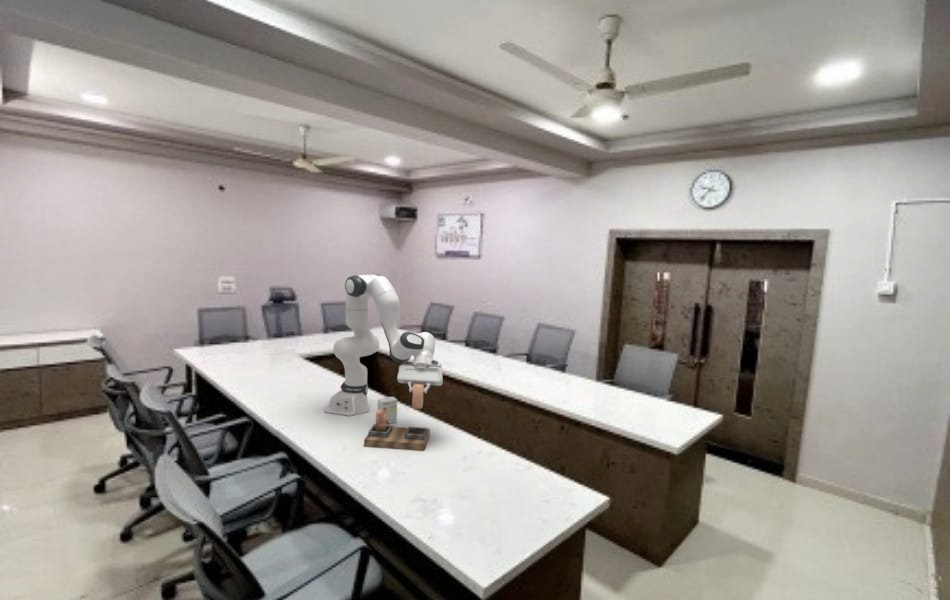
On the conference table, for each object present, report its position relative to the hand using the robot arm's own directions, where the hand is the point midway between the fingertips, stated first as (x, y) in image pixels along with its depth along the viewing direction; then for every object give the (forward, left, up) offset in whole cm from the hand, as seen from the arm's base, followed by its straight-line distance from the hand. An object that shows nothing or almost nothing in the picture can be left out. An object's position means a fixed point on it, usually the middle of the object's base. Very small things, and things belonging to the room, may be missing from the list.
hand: (417, 392), depth 197 cm
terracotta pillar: (0, +1, -7) cm, 7 cm away
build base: (-8, +1, -23) cm, 24 cm away
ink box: (-18, +21, -23) cm, 36 cm away
